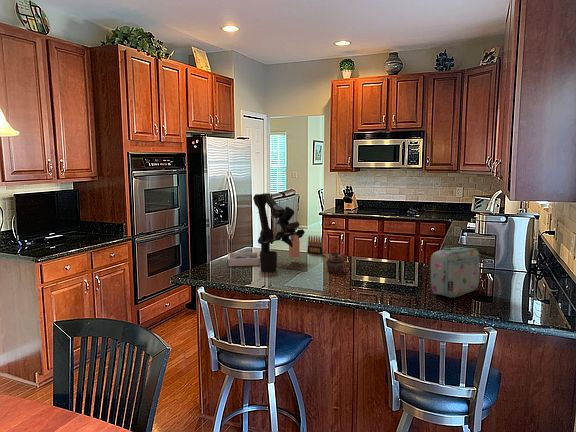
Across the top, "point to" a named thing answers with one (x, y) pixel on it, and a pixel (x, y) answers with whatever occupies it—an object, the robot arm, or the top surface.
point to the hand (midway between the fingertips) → (295, 246)
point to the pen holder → (268, 261)
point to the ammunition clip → (315, 245)
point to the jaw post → (294, 246)
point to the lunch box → (455, 271)
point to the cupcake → (334, 262)
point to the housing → (243, 259)
